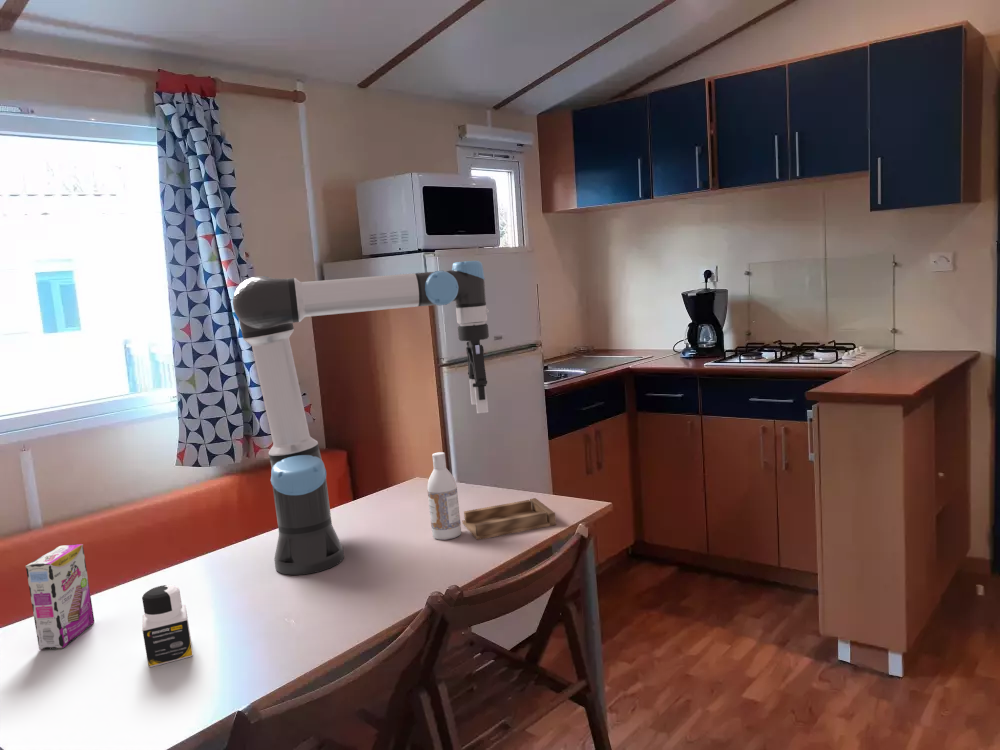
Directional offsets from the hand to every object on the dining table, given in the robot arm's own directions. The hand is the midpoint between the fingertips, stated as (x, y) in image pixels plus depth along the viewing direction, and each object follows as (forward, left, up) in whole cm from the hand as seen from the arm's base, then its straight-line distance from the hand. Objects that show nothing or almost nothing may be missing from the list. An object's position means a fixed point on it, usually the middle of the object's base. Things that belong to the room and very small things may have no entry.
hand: (479, 408), depth 200 cm
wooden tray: (+1, -11, -27) cm, 29 cm away
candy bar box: (-92, -28, -27) cm, 100 cm away
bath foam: (-14, -11, -27) cm, 33 cm away
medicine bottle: (-72, -46, -27) cm, 90 cm away
